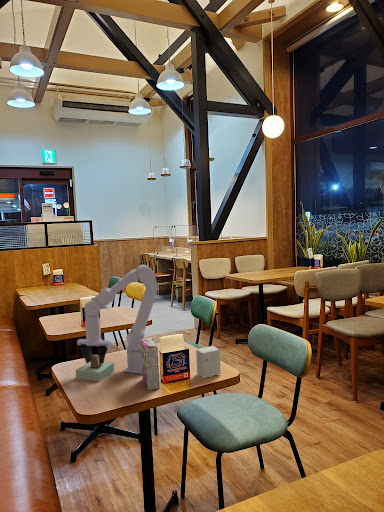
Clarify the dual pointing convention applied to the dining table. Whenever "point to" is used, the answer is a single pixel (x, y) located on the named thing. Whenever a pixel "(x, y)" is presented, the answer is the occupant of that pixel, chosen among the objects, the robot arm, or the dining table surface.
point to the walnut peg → (94, 361)
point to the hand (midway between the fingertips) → (95, 363)
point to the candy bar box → (149, 363)
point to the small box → (208, 361)
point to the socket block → (94, 371)
